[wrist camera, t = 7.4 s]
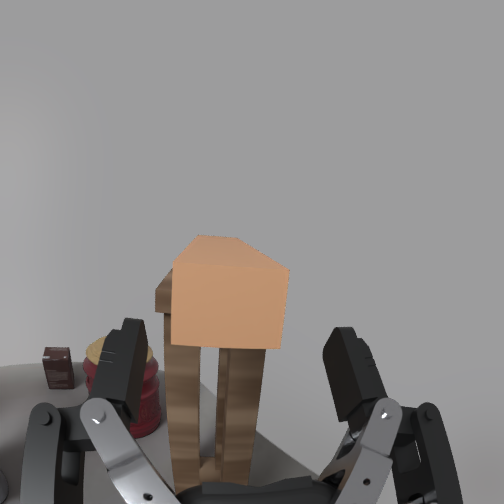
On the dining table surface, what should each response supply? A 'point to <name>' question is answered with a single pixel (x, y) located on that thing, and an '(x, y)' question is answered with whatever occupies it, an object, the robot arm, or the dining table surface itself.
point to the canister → (150, 391)
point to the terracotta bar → (227, 296)
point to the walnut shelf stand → (227, 411)
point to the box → (58, 368)
